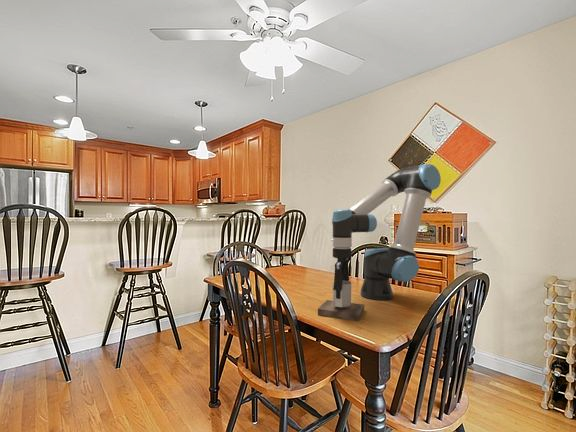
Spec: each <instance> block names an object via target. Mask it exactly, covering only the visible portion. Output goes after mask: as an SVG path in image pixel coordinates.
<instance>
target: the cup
mask: <svg viewBox="0 0 576 432" xmlns="http://www.w3.org/2000/svg"><path fill="white" fill-rule="evenodd" d="M337 287H339V286H337ZM333 288H334V280H333V281H332V301H333V304H334V305H335V290H333ZM351 303H352V282H351V281H350V280H349V281H345V280H343V282H342V307H349V306H350V305H351Z"/></svg>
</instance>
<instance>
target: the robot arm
mask: <svg viewBox="0 0 576 432" xmlns="http://www.w3.org/2000/svg"><path fill="white" fill-rule="evenodd" d="M441 180H442V179H441V174H440V171H439V169H438V168H437V167H436V166H435V165H434V164H430V163H426V164H425V163H422V164H419V165H413V166H408V167H407V166H406V167H403V168H400V169H397V170H396V171H395V172H393V173H391V174H390V175H388V176H387V177H386V178H384V179H383V180H382V182H381V184H380V185H378V186H377V187H376V188H375V189H373V190H372V191H371V192H369V193H368V194H367V195H365V196H364V197H362V198H361V199H360V200H358V201H357V202H356V203H354V204H353V205H352V206H350V207H349V208H347V209H335V210H333V212H332V220H331V225H332V239H331V242H332V247H333V248H332V257H333V258H335V259H337V261H336V263H334V276H333V277H334V279H333V281H334V288H333V287H332V291H333V290H335V306H336V307H342V282H343V280H345V281H350V270H349V259H351V258H352V247H353V244H352V241H353V240H352V239H353V237H352V235H353V234H352V233H372V232H374V231H375V230H376V228H377V226H378V221H377V217H376V216H375V215H373V214H371V212H373V211H375V210H376V209H377V208H378V207H379V206H380V205H382V204H383V203H385V201H387V200H389V199H390V198H391V197H396V196H397V195H398V194H400V193H404V194H405V200H404V203H403V207H402V210H401V215H400V218H399V222H398V226H397V229H396V233H395V238H394V242H393V244H392V245H390V246H389V247H388V248H387V247H385V248H384V247H383V248H367V249H366V250H364V256H363V260H364V261H363V263H364V266H363V267H364V269H363V270H364V274H363V275H364V279H363V282H362V285H361V287H360V296H361V297H363V298H365V299H369V300H373V301H374V300H377V301H388V300H390V299H393V297H394V292H393V291H394V290H393V289H392V286H391V282H390V280H395V282H396V281H397V282H402V283H406V282H410V281H411V280H413V279H414V278H415V277H416V276H417V275H418V272H419V269H420V263H419V260H418V259H417V258H416V255H417V253H416V252H415V250H414V249H415V244H416V240H417V237H418V233H419V229H420V226H421V221H422V217H423V213H424V210H425V209H424V208H425V205H426V201H427V199H429V198H430V197H432V193H433V191H434V190H437V189H438V188H439V187H440V185H441V182H442V181H441ZM337 286H339V287H337Z"/></svg>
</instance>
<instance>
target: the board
mask: <svg viewBox="0 0 576 432" xmlns="http://www.w3.org/2000/svg"><path fill="white" fill-rule="evenodd" d="M364 312H365V304H363V303H354V302H351V305H350V306H349V307H336V306H335V305H334V304H333V300H329V299H326V300H325V301H324V302H323V303H322V304H321V305H320V306H319V307H318V308H317V316H322V317H328V318H336V319H341V320H348V321H349V320H350V321H355V322H359V321H360V320H361V318H362V316H363V314H364Z"/></svg>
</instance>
